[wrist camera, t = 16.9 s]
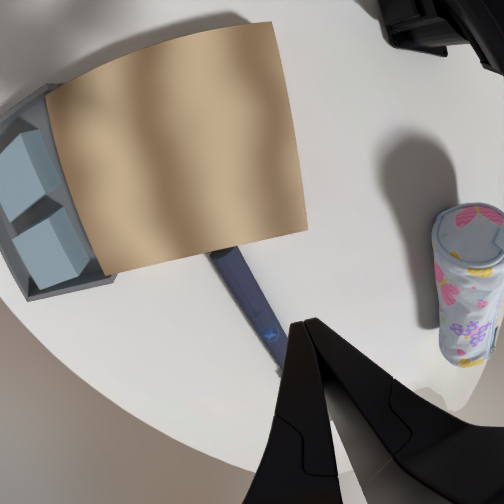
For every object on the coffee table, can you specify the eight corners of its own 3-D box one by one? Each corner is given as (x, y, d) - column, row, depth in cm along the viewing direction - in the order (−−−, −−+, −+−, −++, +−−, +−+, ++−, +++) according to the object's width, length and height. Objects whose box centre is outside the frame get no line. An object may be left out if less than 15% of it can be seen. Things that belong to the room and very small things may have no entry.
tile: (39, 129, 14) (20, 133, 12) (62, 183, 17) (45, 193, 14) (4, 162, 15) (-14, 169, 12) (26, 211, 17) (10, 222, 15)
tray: (63, 83, 13) (49, 82, 12) (122, 269, 21) (114, 282, 19) (-20, 143, 13) (-34, 148, 11) (36, 290, 21) (27, 302, 19)
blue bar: (385, 397, 35) (317, 429, 36) (380, 388, 37) (313, 419, 38) (350, 197, 19) (200, 267, 20) (337, 189, 21) (201, 253, 22)
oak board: (265, 32, 14) (271, 21, 12) (298, 216, 21) (307, 229, 18) (62, 95, 14) (45, 95, 12) (115, 259, 21) (105, 275, 18)
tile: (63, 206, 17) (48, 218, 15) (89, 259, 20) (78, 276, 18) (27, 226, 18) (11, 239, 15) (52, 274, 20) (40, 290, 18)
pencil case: (471, 306, 30) (506, 347, 22) (428, 340, 32) (460, 387, 23) (465, 183, 21) (533, 220, 12) (407, 224, 22) (476, 279, 14)
